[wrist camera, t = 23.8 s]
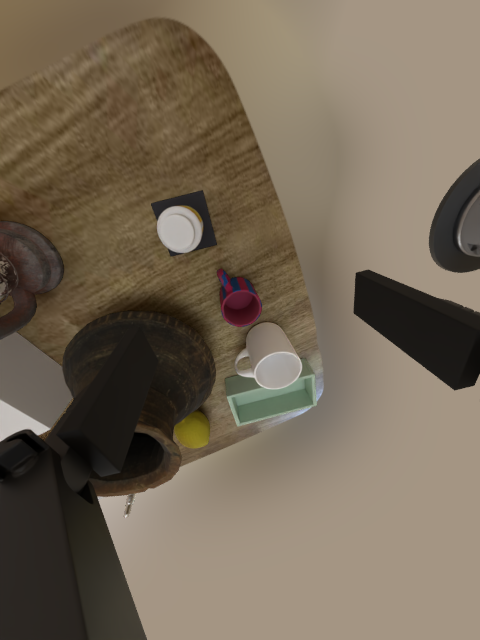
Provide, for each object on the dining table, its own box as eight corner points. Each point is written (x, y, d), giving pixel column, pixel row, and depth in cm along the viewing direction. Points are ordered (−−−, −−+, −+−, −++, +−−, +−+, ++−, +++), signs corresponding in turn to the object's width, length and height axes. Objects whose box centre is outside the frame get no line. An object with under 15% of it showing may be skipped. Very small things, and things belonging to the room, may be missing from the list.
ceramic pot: (118, 399, 50) (58, 527, 30) (64, 305, 38) (-92, 414, 18) (222, 381, 51) (230, 492, 31) (202, 284, 39) (194, 365, 20)
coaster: (202, 190, 32) (202, 190, 32) (216, 244, 36) (216, 244, 36) (151, 203, 32) (150, 203, 32) (171, 256, 36) (170, 256, 36)
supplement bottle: (163, 206, 32) (146, 207, 23) (200, 204, 33) (197, 204, 24) (171, 245, 35) (158, 259, 26) (205, 242, 35) (204, 255, 26)
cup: (228, 314, 43) (231, 332, 37) (204, 270, 38) (204, 282, 32) (259, 301, 42) (267, 316, 36) (239, 253, 37) (244, 263, 31)
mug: (224, 336, 45) (228, 370, 36) (277, 314, 44) (295, 344, 35) (239, 364, 49) (246, 402, 40) (288, 345, 48) (306, 379, 39)
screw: (147, 454, 60) (151, 463, 63) (130, 456, 60) (134, 466, 62) (133, 512, 49) (138, 521, 51) (111, 515, 49) (117, 524, 51)
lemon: (170, 405, 53) (164, 436, 46) (200, 396, 52) (198, 425, 45) (188, 431, 58) (185, 462, 51) (215, 422, 58) (216, 452, 51)
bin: (304, 357, 51) (314, 373, 46) (307, 388, 56) (316, 405, 51) (224, 378, 51) (226, 396, 46) (235, 407, 56) (237, 426, 51)
